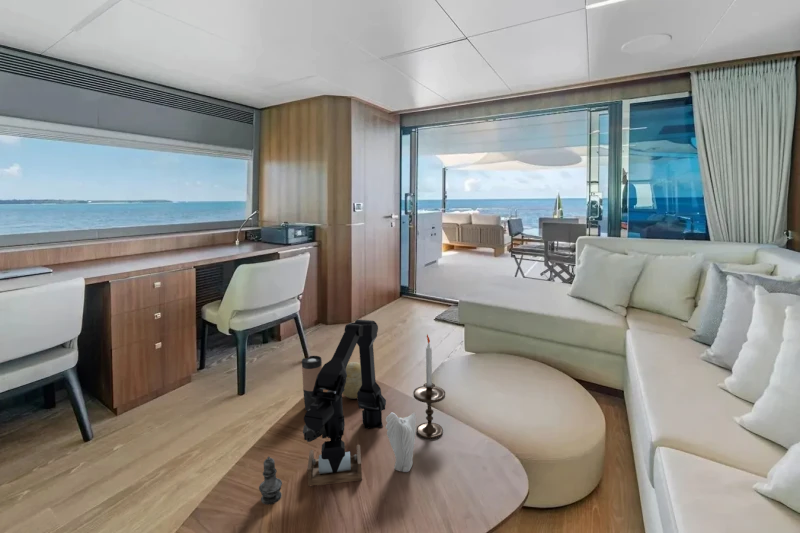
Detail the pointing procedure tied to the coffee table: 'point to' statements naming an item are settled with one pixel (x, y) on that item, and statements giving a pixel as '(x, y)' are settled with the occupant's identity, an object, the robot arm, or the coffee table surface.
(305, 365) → the travel mug
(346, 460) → the roll
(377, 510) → the coffee table surface
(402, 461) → the white angel figurine
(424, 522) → the coffee table surface
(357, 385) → the fossilized egg
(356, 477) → the holder
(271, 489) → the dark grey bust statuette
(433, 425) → the candlestick
